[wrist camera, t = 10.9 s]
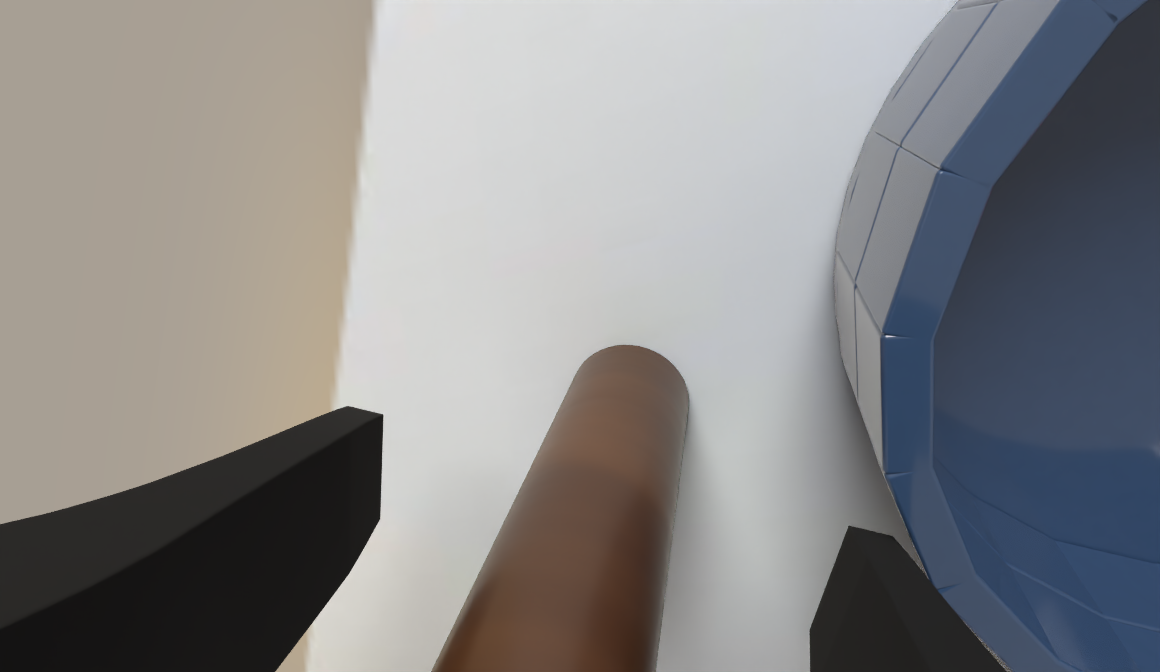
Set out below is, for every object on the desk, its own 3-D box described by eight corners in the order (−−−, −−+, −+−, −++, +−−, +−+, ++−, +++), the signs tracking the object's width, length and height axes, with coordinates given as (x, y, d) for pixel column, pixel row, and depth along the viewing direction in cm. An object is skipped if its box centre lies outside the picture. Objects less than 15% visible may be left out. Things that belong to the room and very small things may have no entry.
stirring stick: (676, 461, 14) (603, 992, 6) (564, 434, 15) (356, 908, 7) (700, 358, 13) (650, 829, 5) (581, 332, 14) (361, 740, 6)
